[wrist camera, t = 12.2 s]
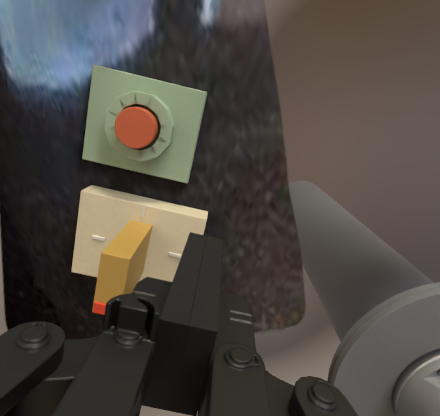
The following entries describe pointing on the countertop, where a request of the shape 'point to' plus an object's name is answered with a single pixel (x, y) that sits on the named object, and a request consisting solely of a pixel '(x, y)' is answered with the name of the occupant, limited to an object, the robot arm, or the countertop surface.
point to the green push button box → (164, 113)
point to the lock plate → (118, 218)
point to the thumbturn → (121, 264)
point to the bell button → (136, 127)
